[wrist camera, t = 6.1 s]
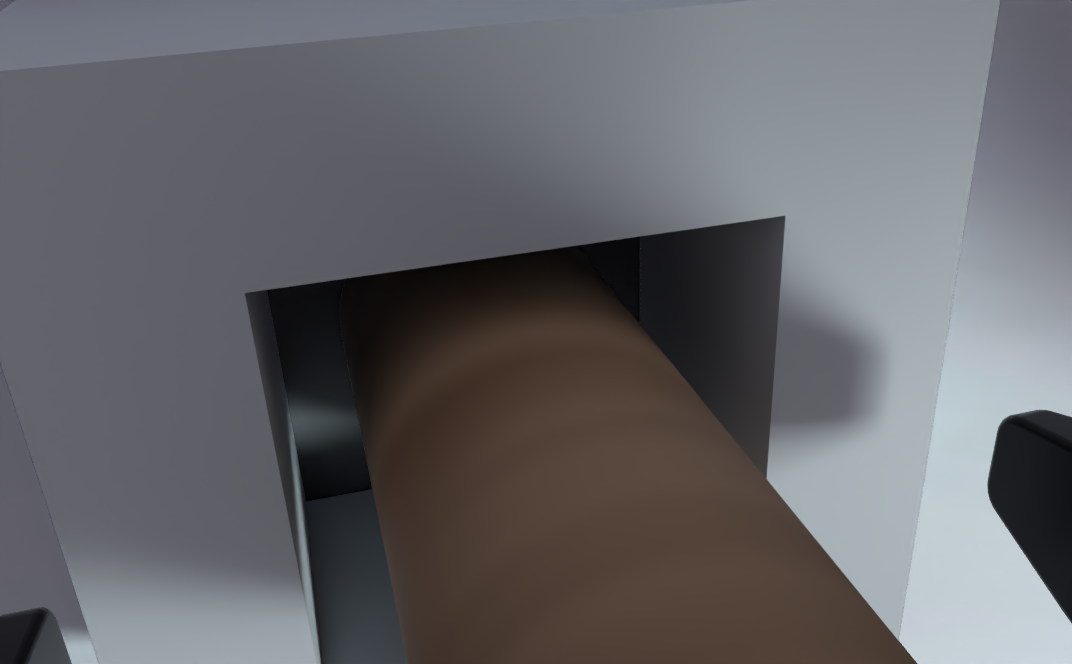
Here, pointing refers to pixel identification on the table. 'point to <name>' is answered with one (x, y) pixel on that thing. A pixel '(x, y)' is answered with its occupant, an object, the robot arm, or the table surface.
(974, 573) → the table surface
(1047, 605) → the table surface
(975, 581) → the table surface
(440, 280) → the peg
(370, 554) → the grey and wooden blocks
